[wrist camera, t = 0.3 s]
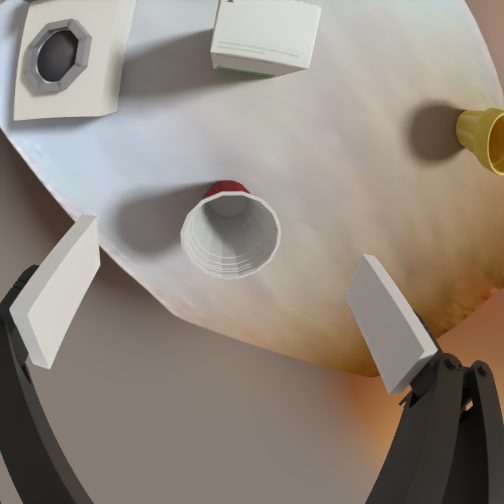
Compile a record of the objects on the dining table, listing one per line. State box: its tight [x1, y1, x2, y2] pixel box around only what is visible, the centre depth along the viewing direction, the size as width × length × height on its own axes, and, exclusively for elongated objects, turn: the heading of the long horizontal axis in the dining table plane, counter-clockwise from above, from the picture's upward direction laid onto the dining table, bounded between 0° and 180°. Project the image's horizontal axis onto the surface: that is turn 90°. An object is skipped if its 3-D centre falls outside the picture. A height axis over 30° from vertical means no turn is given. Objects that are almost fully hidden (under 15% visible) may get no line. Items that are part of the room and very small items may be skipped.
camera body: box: [14, 0, 137, 121], centre depth 23 cm, size 22×14×8 cm, turn 170°
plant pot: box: [456, 108, 504, 175], centre depth 33 cm, size 10×10×10 cm
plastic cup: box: [180, 180, 281, 280], centre depth 36 cm, size 11×11×12 cm
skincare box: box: [210, 0, 321, 78], centre depth 24 cm, size 8×7×16 cm
